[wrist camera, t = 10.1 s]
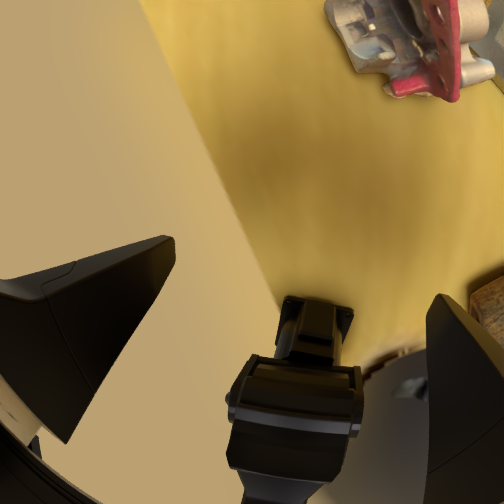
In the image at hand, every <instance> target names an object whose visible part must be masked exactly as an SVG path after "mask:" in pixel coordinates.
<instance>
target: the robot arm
mask: <svg viewBox="0 0 504 504" xmlns="http://www.w3.org/2000/svg"><path fill="white" fill-rule="evenodd" d="M175 261H176V254H175V240H174V238H173V237H171V236H166V235H160V236H157V237H153V238H150V239H146V240H143V241H139V242H136V243H133V244H129V245H126V246H122V247H119V248H115V249H112V250H109V251H105V252H102V253H99V254H95V255H93V256H89V257H86V258H82V259H79V260H77V261H73V262H70V263H67V264H63V265H60V266H57V267H53V268H50V269H46V270H43V271H40V272H35V273H32V274H28V275H24V276H21V277H17V278H13V279H8V280H2V279H0V504H103V503H101V502H99V501H98V500H96V499H95V498H93V497H91V496H90V495H88V494H87V493H85V492H84V491H82V490H81V489H79V488H78V487H76V486H75V485H73V484H72V483H71V482H69V481H68V480H67V479H65V478H64V477H63V476H61V475H60V474H59V473H57V472H56V471H55V470H53V469H52V468H51V467H50V466H49V465H47V464H46V463H45V462H44V461H43V460H42V456H41V451H40V444H39V437H38V436H37V435H36V434H37V432H38V431H39V429H40V428H41V427H43V428H45V429H46V430H47V431H48V432H50V433H51V434H52V435H53V436H55V437H56V438H57V439H59V440H60V441H61V442H63V443H64V444H67V443H68V441H69V439H70V438H71V436H72V434H73V432H74V430H75V429H76V427H77V425H78V423H79V421H80V420H81V418H82V416H83V414H84V413H85V411H86V409H87V407H88V406H89V404H90V402H91V401H92V399H93V397H94V394H95V393H96V392H97V390H98V388H99V387H100V385H101V384H102V382H103V380H104V379H105V377H106V375H107V374H108V372H109V371H110V369H111V367H112V366H113V364H114V362H115V361H116V359H117V358H118V356H119V354H120V353H121V351H122V350H123V348H124V346H125V345H126V343H127V342H128V340H129V339H130V337H131V336H132V334H133V333H134V331H135V330H136V328H137V327H138V325H139V323H140V322H141V320H142V319H143V317H144V316H145V314H146V313H147V311H148V310H149V308H150V307H151V305H152V304H153V302H154V301H155V299H156V298H157V296H158V294H159V293H160V291H161V289H162V287H163V285H164V283H165V281H166V279H167V277H168V276H169V274H170V272H171V270H172V268H173V266H174V264H175ZM287 301H290V302H291V303H288V302H287ZM347 314H350V315H347ZM353 317H354V311H353V310H352V309H349V308H344V307H339V306H334V305H330V304H325V303H320V302H315V301H310V300H305V299H300V298H296V297H291V296H287V297H285V298H284V301H283V305H282V310H281V315H280V321H279V326H278V331H277V336H276V341H275V345H276V346H277V348H276V351H275V355H274V358H268V357H262V356H259V355H256V354H252V356H251V357H250V359H249V360H248V361H247V362H246V364H245V365H244V367H243V369H242V370H241V372H240V374H239V375H238V377H237V379H236V380H235V382H234V383H233V385H232V387H231V390H230V392H228V393H227V395H226V397H225V401H226V403H227V405H228V420H229V422H230V423H233V425H232V430H231V436H230V440H229V444H228V447H227V451H226V457H227V461H228V464H229V467H230V468H231V469H234V470H237V472H238V475H239V477H240V479H241V481H242V484H243V486H244V494H243V498H242V502H241V504H306V503H307V500H308V498H309V497H311V496H312V495H313V494H314V493H315V492H316V491H317V490H318V489H319V488H320V487H321V486H323V485H324V484H330V483H331V482H332V481H333V480H334V478H335V477H336V476H337V475H338V474H339V472H340V471H341V466H342V465H343V462H344V458H345V454H346V450H347V446H348V441H349V440H355V439H356V437H357V435H358V432H359V429H360V426H361V421H362V416H363V409H364V392H363V383H362V375H361V367H360V366H353V367H347V366H340V363H341V347H342V344H343V342H344V339H345V337H346V335H347V332H348V330H349V327H350V325H351V322H352V320H353ZM426 357H427V371H428V387H429V451H428V452H429V453H428V466H427V476H426V486H425V493H424V500H423V504H504V348H503V347H502V346H501V345H500V344H499V343H498V342H497V341H496V340H495V339H494V338H493V337H492V336H491V335H490V334H489V333H488V332H487V331H486V330H485V329H484V328H483V327H482V326H481V325H480V324H479V323H478V322H477V321H476V320H475V319H474V318H473V317H472V316H471V315H470V314H468V313H467V312H466V311H465V310H464V309H463V308H462V307H461V306H460V305H459V304H458V303H456V302H455V301H454V300H453V299H452V298H451V297H450V296H448V295H445V294H440V293H439V294H437V295H436V296H435V298H434V300H433V302H432V304H431V306H430V308H429V310H428V312H427V315H426Z"/></svg>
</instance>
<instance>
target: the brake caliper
mask: <svg viewBox="0 0 504 504" xmlns="http://www.w3.org/2000/svg"><path fill="white" fill-rule="evenodd" d="M324 12H325V14H326V16H327V18H328V20H329V22H330V23H331V25H332V27H333V28H334V30H335V31H336V32H337V34H338V35H339V36H340V38H341V39H342V41H343V43H344V46H345V48H346V50H347V53H348V55H349V57H350V60H351V62H352V64H353V66H354V68H355V70H356V72H358V73H359V74H360V73H374V72H377V73H384V74H387V75H388V76H389V77H390V83H387V84H385V85H383V89H384V90H385V92H386V93H387V94H388V95H390V96H392V97H394V98H398V99H402V98H404V97H405V96H407V95H410V94H417V95H419V96H422V97H429V96H433V95H434V96H436V97H441V98H442V99H443V100H445V101H447V102H450V103H453V102H456V101H457V100H458V99H459V97H460V93H459V89H462V88H465V87H467V86H471V85H475V84H477V83H481V82H484V81H487V80H489V79H492V78H494V77H495V68H494V66H493V64H492V62H491V61H489V60H486V59H483V58H479V57H476V56H473V55H472V54H471V53H470V50H469V44H470V42H474V41H478V40H481V39H482V38H484V36H485V35H486V34H487V32H488V29H489V16H488V12H487V8H486V5H485V3H484V0H326V2H325V5H324Z"/></svg>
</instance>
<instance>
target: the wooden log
mask: <svg viewBox="0 0 504 504" xmlns="http://www.w3.org/2000/svg"><path fill="white" fill-rule="evenodd" d="M469 314H470V315H471V316H472V317H473V318H474V319H475V320H476V321H477V322H478V323H479V324H480V325H481V326H482V327H483V328H484V329H485V330H486V331H487V332H488V333H489V334H490V335H491V336H492V337H493V338H494V339H495V340H496V341H497V342H498V343H499V344H500V345H501V346H502V347H503V348H504V275H503V276H501V277H499V278H497V279H495V280H493V281H492V282H490V283H488V284H486V285H485V286H483V287H481V288H480V289H478V290H477V291H475V292H473V293H472V294H471V295H470V311H469Z"/></svg>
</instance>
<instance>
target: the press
mask: <svg viewBox="0 0 504 504" xmlns="http://www.w3.org/2000/svg"><path fill="white" fill-rule="evenodd" d="M485 5H486V8H487V12H488V16H489V29H488V32H487V34H486V35H485V36H484V38H482V39H481V40H478V41H474V42H470V44H469V50H470V53H471V54H472V55H473V56H476V57H479V58H483V59H486V60H489V61H491V62H492V64H493V66H494V68H495V77H494V78H492V81H493V82H494V83H495V84H496V85H497V86H498V87H499V89H500V90H501V91H502V92H503V93H504V0H486V2H485Z"/></svg>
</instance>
